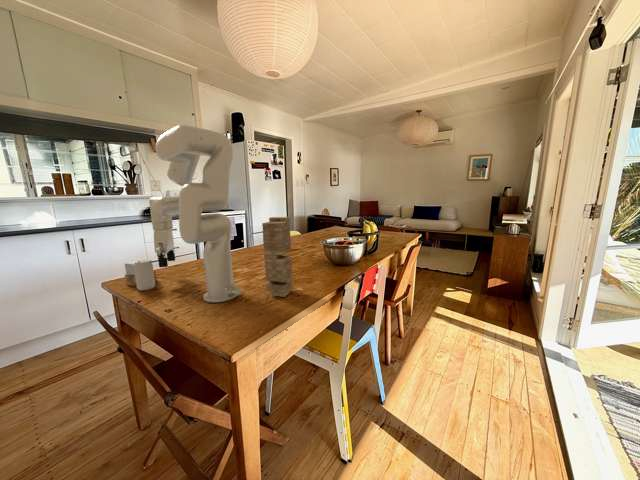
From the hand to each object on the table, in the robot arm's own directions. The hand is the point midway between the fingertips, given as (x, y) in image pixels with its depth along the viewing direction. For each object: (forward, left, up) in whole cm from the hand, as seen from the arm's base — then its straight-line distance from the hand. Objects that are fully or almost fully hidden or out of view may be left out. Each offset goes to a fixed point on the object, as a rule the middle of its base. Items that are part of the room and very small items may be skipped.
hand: (167, 263), depth 113 cm
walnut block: (+11, +5, -8) cm, 14 cm away
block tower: (-55, 0, -8) cm, 56 cm away
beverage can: (+1, +10, -8) cm, 13 cm away
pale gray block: (+11, +5, -3) cm, 12 cm away
